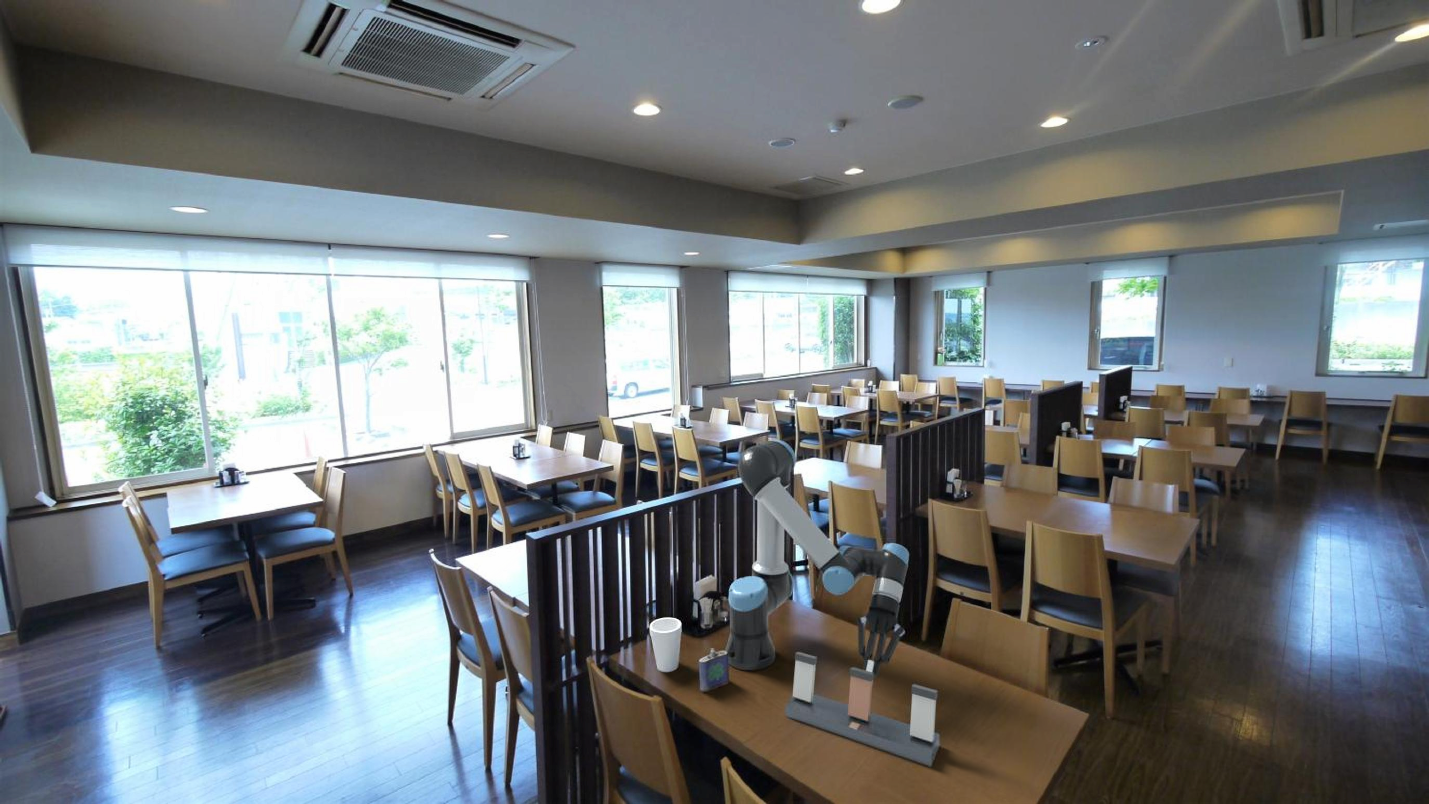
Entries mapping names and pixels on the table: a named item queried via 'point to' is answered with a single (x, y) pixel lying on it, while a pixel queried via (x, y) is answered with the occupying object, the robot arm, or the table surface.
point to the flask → (714, 670)
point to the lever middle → (860, 693)
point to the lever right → (923, 712)
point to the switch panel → (864, 728)
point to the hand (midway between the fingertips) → (866, 687)
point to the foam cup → (666, 643)
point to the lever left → (804, 676)
